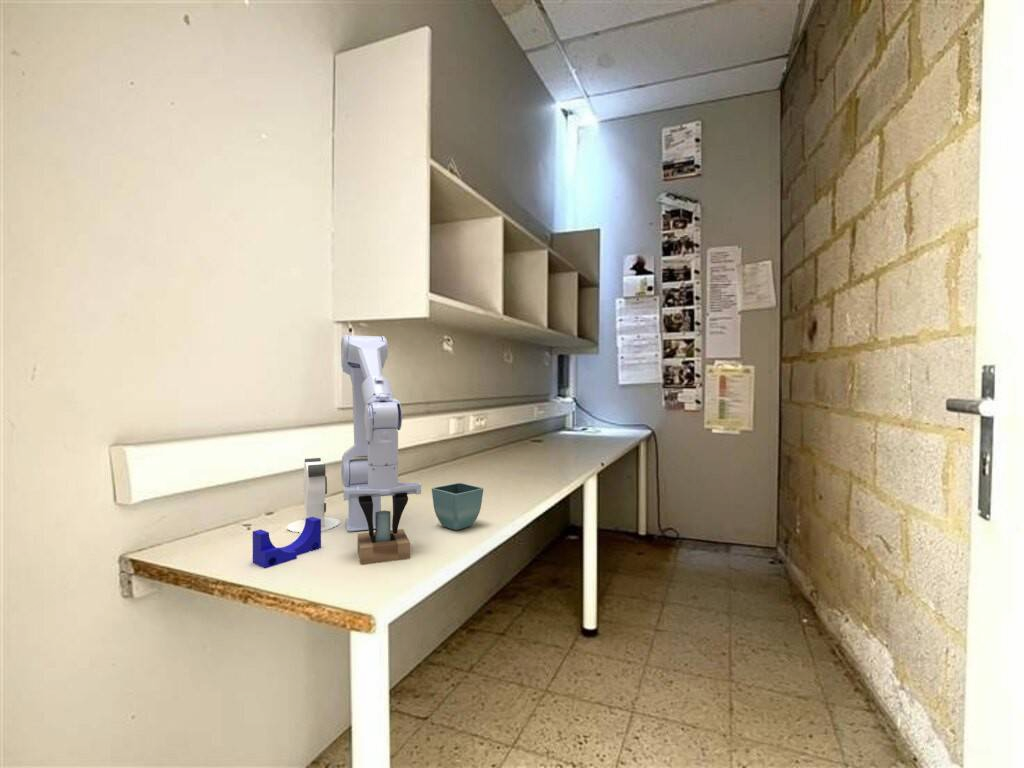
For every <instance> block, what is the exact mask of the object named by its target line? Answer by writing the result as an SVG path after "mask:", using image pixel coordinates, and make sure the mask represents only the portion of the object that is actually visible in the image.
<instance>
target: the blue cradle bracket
mask: <svg viewBox="0 0 1024 768" xmlns="http://www.w3.org/2000/svg"><path fill="white" fill-rule="evenodd" d="M319 548H320V549H322V532H321V519H318V518H315V517H310V518H306V522H305V526H304V529H303V531H302V533H300V534H299V536H298V537H297V538H296V539H295V540H294V541H293V542H291V543H290V544H288V545H286V546H285V545H284V546H281V547H276V546H274V544H273V542H272V540H271V538H270V532H269V531H266V530H263V529H256V530H253V531H252V563H253V564H254V565H257V566H259V567H261V568H262V569H267V568H271V567H275V566H278V565H281V564H283V563H288V562H291V561H295V560H297V558H298V556H299V555H300V556H301V555H304V554H307V553H310V552H309V551H311V552H314V551H316V549H317V550H320V549H319ZM313 550H314V551H313Z"/></svg>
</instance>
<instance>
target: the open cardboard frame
mask: <svg viewBox="0 0 1024 768" xmlns="http://www.w3.org/2000/svg"><path fill="white" fill-rule="evenodd" d="M357 554H358V558H359V559H360V560H359V563H360V564H362V565H367V564H368V565H369V563H370V564H376V562H378V563H385V562H392V560H393V561H400V560H399V559H401V560H407V559H406V558H409V559H411V542H410V540H409V537H408V535H407V533H406V531H405V529H404V528H400V529H399V528H398V531H397V533H396V534H394V533H393V531H392V529H390V541H386V542H377V543H376V531H374V535H373V536H369V532H363V533H361V532H360V533H357Z"/></svg>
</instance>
